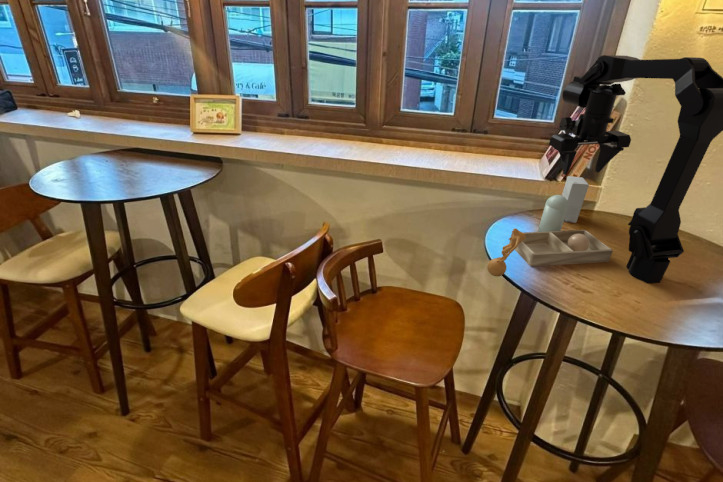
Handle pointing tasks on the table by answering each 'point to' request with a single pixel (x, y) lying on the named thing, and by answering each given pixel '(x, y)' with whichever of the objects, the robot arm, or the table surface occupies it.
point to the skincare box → (574, 196)
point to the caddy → (560, 249)
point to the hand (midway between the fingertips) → (580, 173)
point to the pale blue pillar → (553, 214)
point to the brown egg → (578, 242)
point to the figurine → (505, 254)
